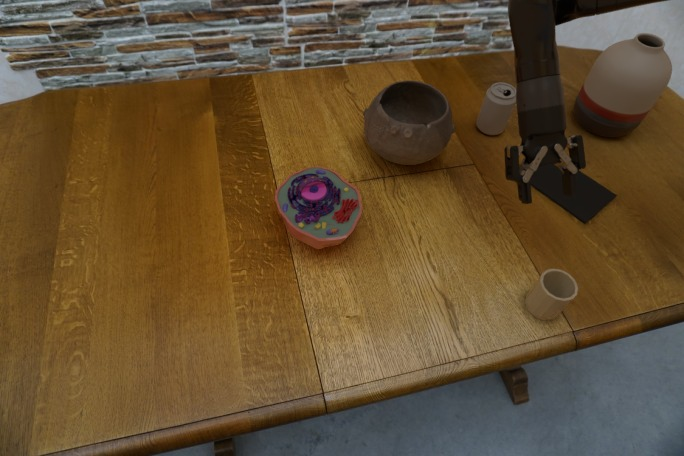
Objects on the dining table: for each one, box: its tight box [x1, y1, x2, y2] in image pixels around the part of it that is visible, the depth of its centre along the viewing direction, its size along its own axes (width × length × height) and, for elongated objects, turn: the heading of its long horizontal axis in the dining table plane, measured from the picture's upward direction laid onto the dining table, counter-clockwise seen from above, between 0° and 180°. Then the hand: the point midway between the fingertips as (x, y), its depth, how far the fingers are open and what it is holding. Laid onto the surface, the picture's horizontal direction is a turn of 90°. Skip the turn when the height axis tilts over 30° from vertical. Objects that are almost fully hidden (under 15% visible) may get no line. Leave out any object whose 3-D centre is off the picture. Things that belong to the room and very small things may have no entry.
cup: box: [524, 268, 579, 321], centre depth 86 cm, size 7×7×8 cm
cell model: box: [274, 166, 363, 250], centre depth 95 cm, size 17×20×11 cm
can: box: [475, 81, 516, 136], centre depth 116 cm, size 8×8×12 cm
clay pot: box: [362, 79, 456, 166], centre depth 109 cm, size 21×21×15 cm
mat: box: [519, 164, 618, 225], centre depth 109 cm, size 20×13×1 cm, turn 40°
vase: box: [573, 32, 673, 138], centre depth 114 cm, size 17×17×24 cm
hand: (548, 199), depth 82 cm, fingers open, 8 cm apart
